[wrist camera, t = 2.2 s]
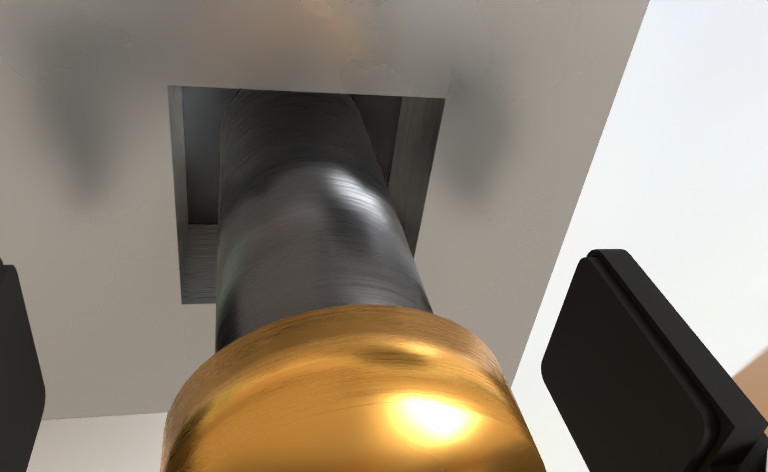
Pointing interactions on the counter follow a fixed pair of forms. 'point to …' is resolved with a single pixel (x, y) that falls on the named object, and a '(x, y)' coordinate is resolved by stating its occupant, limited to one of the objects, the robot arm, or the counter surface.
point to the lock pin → (330, 319)
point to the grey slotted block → (284, 73)
